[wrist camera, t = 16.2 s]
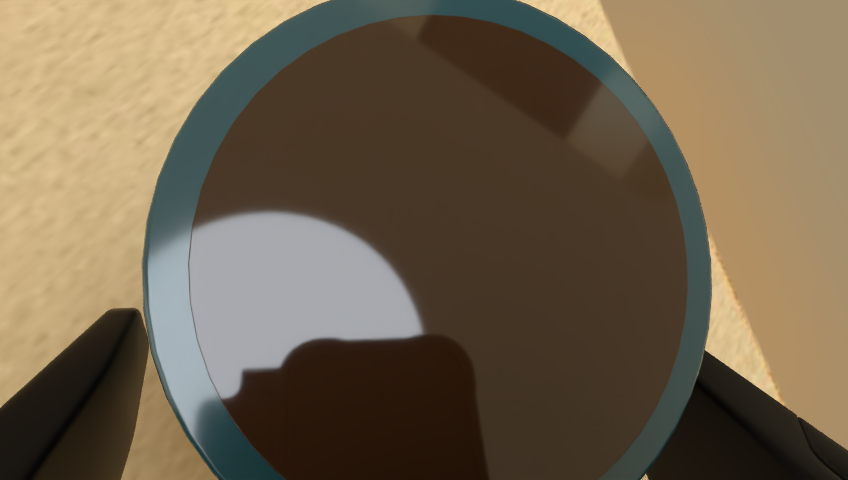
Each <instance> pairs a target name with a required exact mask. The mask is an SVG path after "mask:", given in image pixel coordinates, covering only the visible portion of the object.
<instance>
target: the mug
mask: <svg viewBox="0 0 848 480" xmlns="http://www.w3.org/2000/svg"><path fill="white" fill-rule="evenodd" d="M142 286H143V310H144V316H145V321H146V327H147V332H148V338H149V343H150V349H151V354H152V357H153V360H154V363H155V366H156V369H157V372H158V375H159V378H160V381H161V384H162V387H163V390H164V392H165V395H166V398H167V400H168V402H169V404H170V406H171V407H172V409H173V411H174V413H175V415H176V417H177V419H178V421H179V423H180V425H181V427H182V429H183V431H184V433H185V435H186V437H187V438H188V440H189V441H190V442H191V444H192V445H193V447H194V448H195V449H196V451H197V452H198V454H199V455H200V456H201V458H202V459H203V461H204V462H205V463H206V465H207V466H208V468H209V469H210V470H211V472H212V473H213V474H214V475H215V476H216V477H217V478H218V479H219V480H641V479H642V477H643V476H644V475H645V474H646V472H647V471H648V470H649V469H650V467H651V466H652V465H653V463H654V462H655V461H656V460H657V458H658V457H659V456H660V454H661V452H662V451H663V449H664V447H665V446H666V444H667V442H668V441H669V439H670V437H671V436H672V434H673V433H674V431H675V429H676V428H677V426H678V424H679V421H680V419H681V417H682V415H683V413H684V410H685V408H686V406H687V404H688V402H689V399H690V397H691V395H692V392H693V389H694V386H695V383H696V379H697V376H698V373H699V370H700V367H701V364H702V360H703V355H704V350H705V345H706V340H707V335H708V330H709V321H710V309H711V297H712V283H711V257H710V250H709V242H708V235H707V227H706V223H705V219H704V215H703V211H702V207H701V203H700V199H699V195H698V192H697V189H696V186H695V184H694V181H693V178H692V175H691V173H690V170H689V168H688V164H687V162H686V160H685V158H684V156H683V154H682V152H681V150H680V148H679V146H678V144H677V142H676V140H675V138H674V136H673V134H672V133H671V131H670V129H669V127H668V126H667V124H666V123H665V121H664V119H663V118H662V116H661V115H660V113H659V112H658V110H657V108H656V107H655V105H654V104H653V103H652V102H651V100H650V99H649V98H648V97H647V95H646V94H645V93H644V92H643V90H642V89H641V88H640V87H639V85H638V84H637V83H636V82H635V80H634V79H633V78H632V77H631V76H630V75H629V74H628V73H627V72H626V71H625V70H624V69H623V68H622V67H621V66H620V65H619V64H618V63H617V62H616V61H615V60H614V59H613V58H612V57H611V56H610V55H608V54H607V53H606V52H605V51H603V50H602V49H601V48H600V47H598V46H597V45H596V44H595V43H593V42H592V41H591V40H589V39H588V38H587V37H586V36H584V35H583V34H581V33H580V32H578V31H576V30H575V29H573V28H572V27H570V26H568V25H567V24H565V23H564V22H562V21H560V20H559V19H557V18H555V17H553V16H551V15H549V14H547V13H545V12H543V11H541V10H538V9H536V8H534V7H532V6H530V5H528V4H526V3H523V2H520V1H517V0H330V1H327V2H324V3H321V4H318V5H316V6H314V7H312V8H310V9H308V10H306V11H304V12H302V13H300V14H298V15H296V16H294V17H292V18H290V19H288V20H286V21H284V22H283V23H281V24H280V25H278V26H277V27H275V28H274V29H272V30H271V31H270V32H268V33H267V34H265V35H264V36H262V37H261V38H259V39H258V40H256V41H255V42H254V43H252V44H251V45H250V46H249V47H248V48H247V49H246V50H244V51H243V52H242V53H241V54H240V55H239V56H238V57H237V58H236V59H235V60H234V61H232V62H231V63H230V64H229V65H228V66H227V67H226V68H225V69H224V70H223V71H222V72H221V73H220V74H219V75H218V77H217V78H216V79H215V80H214V81H213V83H212V84H211V85H210V86H209V88H208V89H207V90H206V91H205V92H204V94H203V95H202V96H201V97H200V99H199V100H198V101H197V102H196V104H195V105H194V107H193V109H192V110H191V112H190V114H189V115H188V117H187V119H186V120H185V122H184V124H183V125H182V127H181V129H180V130H179V132H178V133H177V135H176V137H175V138H174V141H173V143H172V145H171V148H170V150H169V153H168V155H167V157H166V160H165V162H164V164H163V167H162V169H161V171H160V174H159V176H158V179H157V183H156V187H155V190H154V194H153V198H152V202H151V206H150V209H149V213H148V217H147V222H146V231H145V240H144V249H143V258H142Z"/></svg>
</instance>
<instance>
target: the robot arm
mask: <svg viewBox="0 0 848 480" xmlns="http://www.w3.org/2000/svg"><path fill="white" fill-rule="evenodd" d="M148 352H149V340H148V336H147V333H146V329H145V326H144V323H143V319H142V316H141V313H140V311H139V310H138V309H136V308H114V309H111V310H109V311H107V312H106V313H105V314H104V315H102V316H101V317H100V318H99V319H98V320H97V321H96V322H95V323H94V324H92V325H91V326H90V327H89V328H88V329H87V330H86V331H85V332H84V333H83V334H81V335H80V336H79V337H78V338H77V339H76V340H75V341H74V342H73V343H71V344H70V345H69V346H68V347H67V348H66V349H65V350H64V351H63V352H61V353H60V354H59V355H58V356H57V357H56V358H55V359H54V360H53V361H52V362H50V363H49V364H48V365H47V366H46V367H45V368H44V369H43V370H42V371H40V372H39V373H38V374H37V375H36V376H35V377H34V378H33V379H32V380H31V381H29V382H28V383H27V384H26V385H25V386H24V387H23V388H22V389H21V390H19V391H18V392H17V393H16V394H15V395H14V396H13V397H12V398H11V399H9V400H8V401H7V402H6V403H5V404H4V405H3V406H2V407H1V408H0V480H121V477H122V474H123V471H124V467H125V464H126V461H127V458H128V454H129V451H130V447H131V444H132V440H133V436H134V431H135V426H136V421H137V415H138V409H139V404H140V398H141V392H142V387H143V381H144V375H145V369H146V364H147V358H148ZM646 474H647V477H648V479H649V480H848V450H846V449H845V448H843V447H842V446H841V445H839V444H837V443H836V442H835V441H833V440H832V439H830V438H829V437H827V436H826V435H824V434H823V433H822V432H820V431H818V430H817V429H816V428H814V427H813V426H812V425H810V424H809V423H807V422H806V421H805V420H803V419H802V418H799V417H797V415H796V414H794V413H793V412H792V411H790V410H789V409H788V408H786V407H785V406H783V405H782V404H780V403H779V402H778V401H776V400H775V399H773V398H772V397H770V396H769V395H768V394H766V393H765V392H763V391H762V390H761V389H759V388H758V387H756V386H755V385H753V384H752V383H751V382H749V381H748V380H746V379H745V378H744V377H742V376H741V375H739V374H738V373H736V372H735V371H734V370H732V369H731V368H729V367H728V366H727V365H725V364H724V363H722V362H721V361H719V360H718V359H717V358H715V357H714V356H712V355H711V354H710V353H708V352H707V351H705V350H704V355H703V360H702V364H701V367H700V370H699V373H698V376H697V379H696V383H695V386H694V389H693V392H692V395H691V397H690V399H689V402H688V404H687V406H686V408H685V410H684V413H683V415H682V417H681V419H680V421H679V424H678V426H677V428H676V429H675V431H674V433H673V434H672V436H671V437H670V439H669V441H668V442H667V444H666V446H665V447H664V449H663V451H662V452H661V454H660V456H659V457H658V458H657V460H656V461H655V462H654V463H653V465H652V466H651V467H650V469H649V470H648V471H647V472H646Z"/></svg>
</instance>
